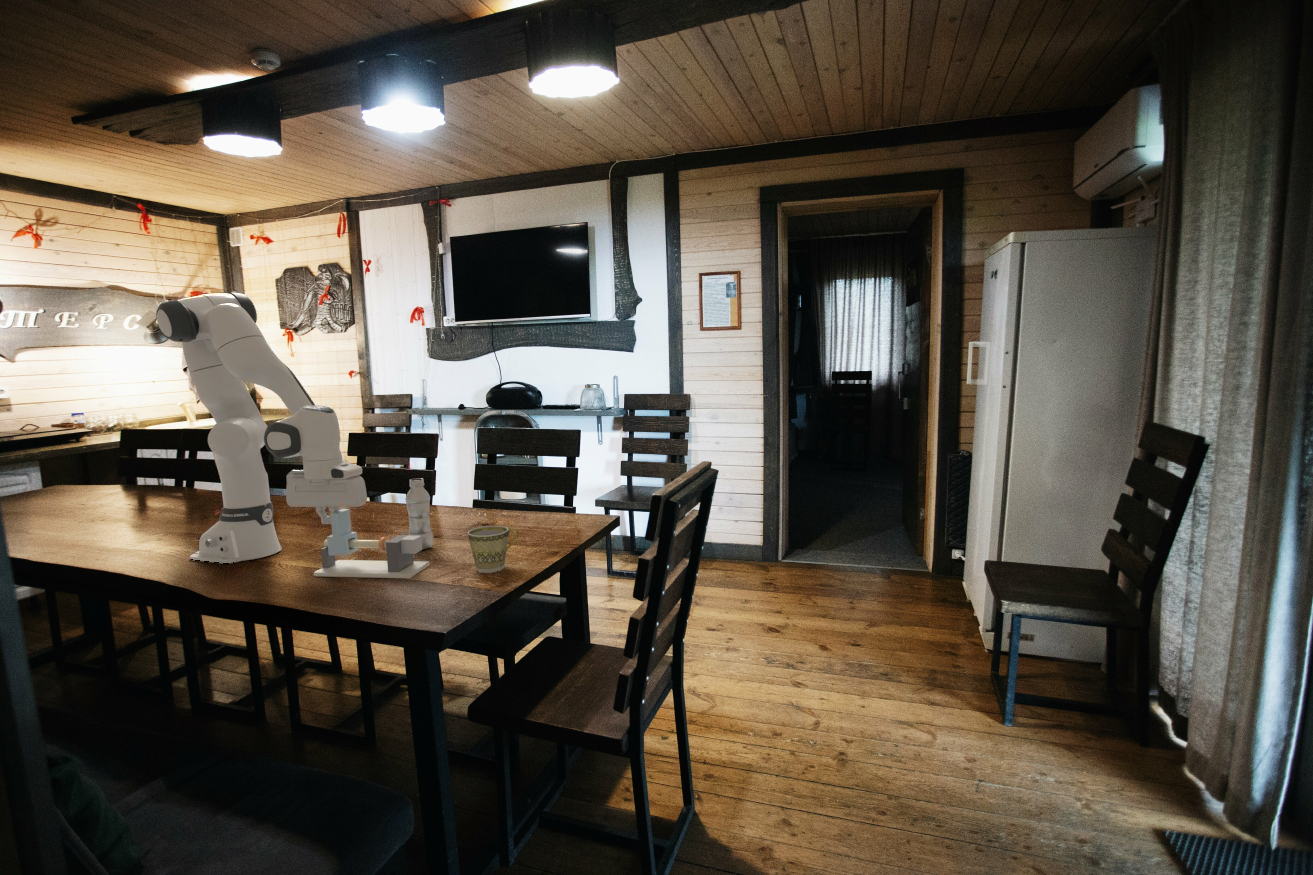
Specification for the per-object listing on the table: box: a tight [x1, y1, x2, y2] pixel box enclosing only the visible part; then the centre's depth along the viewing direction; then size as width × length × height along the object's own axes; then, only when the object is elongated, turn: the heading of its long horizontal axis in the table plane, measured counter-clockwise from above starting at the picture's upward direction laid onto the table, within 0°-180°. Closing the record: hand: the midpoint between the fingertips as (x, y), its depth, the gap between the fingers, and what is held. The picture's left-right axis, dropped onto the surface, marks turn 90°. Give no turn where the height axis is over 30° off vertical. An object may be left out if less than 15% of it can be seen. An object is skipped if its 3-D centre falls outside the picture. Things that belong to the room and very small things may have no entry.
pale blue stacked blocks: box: [326, 508, 359, 557], centre depth 163 cm, size 5×5×11 cm
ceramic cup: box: [467, 525, 520, 574], centre depth 162 cm, size 13×10×10 cm
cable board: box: [313, 534, 430, 579], centre depth 163 cm, size 26×10×9 cm, turn 82°
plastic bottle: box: [405, 477, 434, 551], centre depth 180 cm, size 6×7×20 cm
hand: (328, 523), depth 163 cm, fingers closed
